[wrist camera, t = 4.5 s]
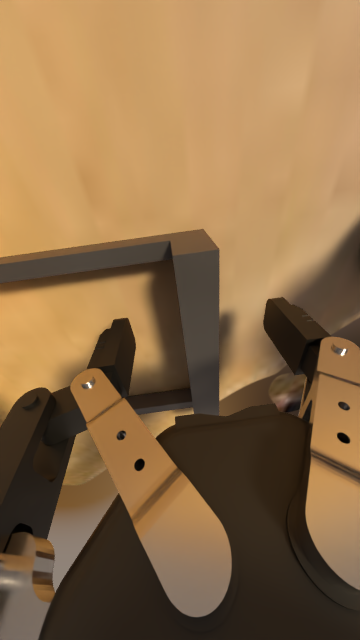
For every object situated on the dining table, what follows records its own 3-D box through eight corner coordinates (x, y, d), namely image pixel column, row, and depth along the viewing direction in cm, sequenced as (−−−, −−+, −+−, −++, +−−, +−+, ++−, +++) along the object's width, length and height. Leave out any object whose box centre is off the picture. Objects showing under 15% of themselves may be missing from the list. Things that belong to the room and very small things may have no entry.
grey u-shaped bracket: (88, 408, 21) (75, 449, 18) (-17, 259, 12) (-84, 291, 9) (210, 391, 21) (219, 430, 18) (203, 229, 12) (219, 249, 8)
